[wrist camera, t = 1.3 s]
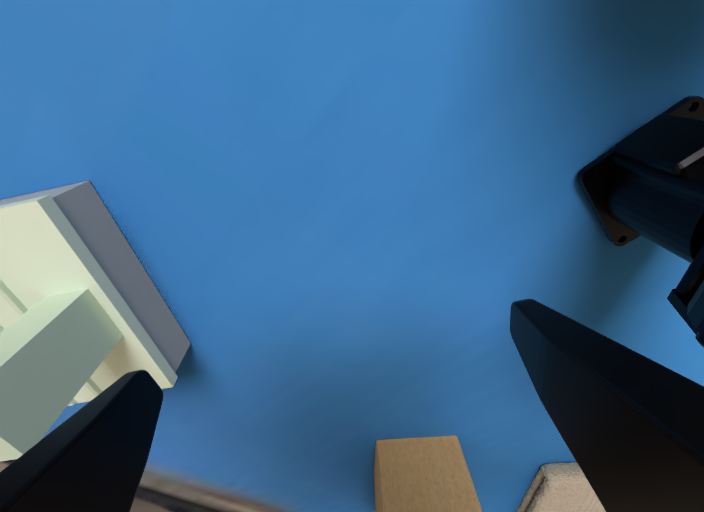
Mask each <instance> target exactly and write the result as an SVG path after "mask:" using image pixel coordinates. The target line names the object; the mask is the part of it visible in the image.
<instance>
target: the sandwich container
mask: <svg viewBox="0 0 704 512" xmlns="http://www.w3.org/2000/svg"><path fill="white" fill-rule="evenodd" d="M374 484H375V509H376V512H482V509H481V506H480V503H479V500H478V497H477V494H476V491H475V488H474V485H473V482H472V479H471V476H470V473H469V470H468V467H467V464H466V461H465V458H464V455H463V452H462V449H461V446H460V443H459V440H458V437H457V436H440V437H421V438H403V439H386V440H377V441H376V448H375V464H374Z"/></svg>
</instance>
